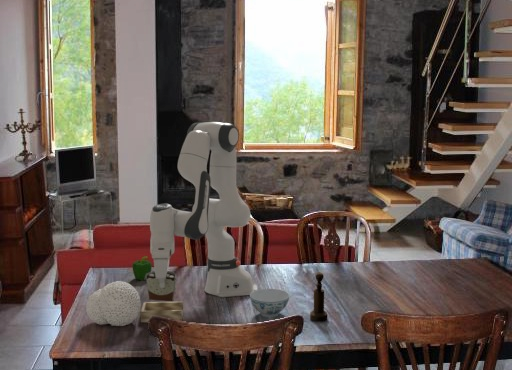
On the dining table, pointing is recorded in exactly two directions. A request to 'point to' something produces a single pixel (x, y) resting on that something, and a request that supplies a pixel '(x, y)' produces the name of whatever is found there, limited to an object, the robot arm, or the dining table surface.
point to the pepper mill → (318, 301)
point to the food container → (156, 291)
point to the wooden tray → (161, 310)
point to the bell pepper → (141, 268)
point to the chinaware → (269, 301)
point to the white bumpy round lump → (114, 304)
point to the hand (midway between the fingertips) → (162, 284)
